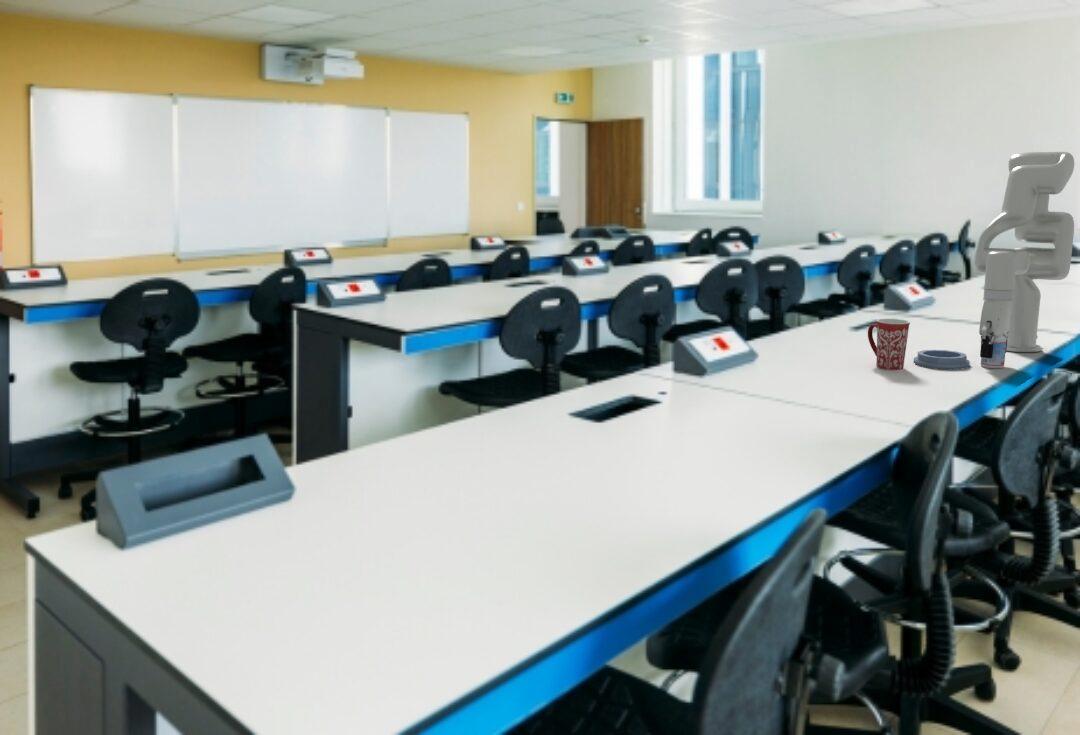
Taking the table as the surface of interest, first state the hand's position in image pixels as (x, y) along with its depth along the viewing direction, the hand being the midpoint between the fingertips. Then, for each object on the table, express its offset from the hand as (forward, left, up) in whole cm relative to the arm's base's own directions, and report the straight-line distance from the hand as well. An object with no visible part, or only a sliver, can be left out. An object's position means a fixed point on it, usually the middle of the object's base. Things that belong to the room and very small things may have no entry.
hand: (993, 355), depth 268 cm
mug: (+20, -22, -4) cm, 30 cm away
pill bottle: (0, 0, -4) cm, 4 cm away
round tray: (+6, -12, -3) cm, 14 cm away
